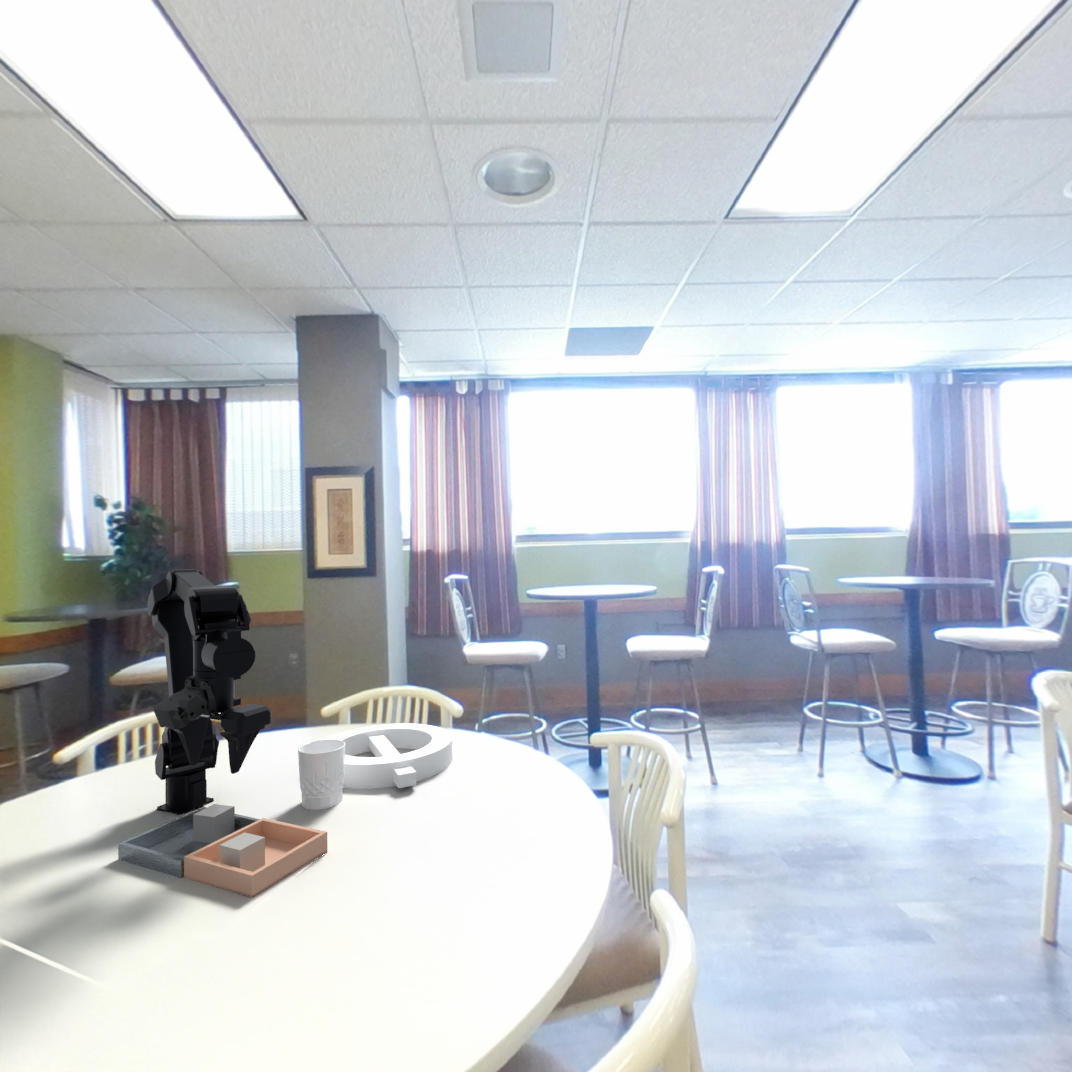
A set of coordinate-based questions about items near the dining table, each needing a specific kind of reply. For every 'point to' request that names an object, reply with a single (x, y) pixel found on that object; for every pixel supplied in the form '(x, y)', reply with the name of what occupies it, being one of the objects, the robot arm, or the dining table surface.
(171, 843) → the bin
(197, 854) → the dish
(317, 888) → the dining table surface
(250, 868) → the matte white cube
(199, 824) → the grey cube
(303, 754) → the white cup
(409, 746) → the ring with crossbar
